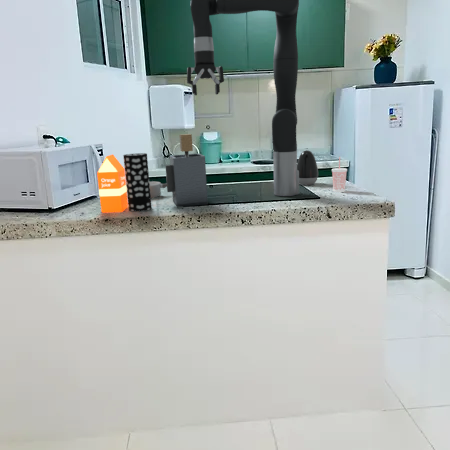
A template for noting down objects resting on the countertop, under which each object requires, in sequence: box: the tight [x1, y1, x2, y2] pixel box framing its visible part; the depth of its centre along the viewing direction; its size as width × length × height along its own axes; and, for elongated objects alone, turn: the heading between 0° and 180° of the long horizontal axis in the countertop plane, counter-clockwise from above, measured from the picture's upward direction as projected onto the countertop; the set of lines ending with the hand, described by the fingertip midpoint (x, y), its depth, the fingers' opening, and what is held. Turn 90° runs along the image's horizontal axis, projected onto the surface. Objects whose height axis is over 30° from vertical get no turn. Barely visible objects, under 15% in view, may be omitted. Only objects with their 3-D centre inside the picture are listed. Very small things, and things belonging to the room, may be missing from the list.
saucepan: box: [149, 181, 167, 199], centre depth 188 cm, size 12×20×6 cm, turn 98°
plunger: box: [178, 133, 194, 157], centre depth 167 cm, size 9×9×25 cm
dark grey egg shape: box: [297, 150, 319, 186], centre depth 198 cm, size 10×10×15 cm
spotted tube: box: [122, 152, 152, 212], centre depth 161 cm, size 8×8×20 cm
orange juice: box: [96, 154, 129, 214], centre depth 162 cm, size 8×9×20 cm
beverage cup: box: [331, 156, 348, 193], centre depth 179 cm, size 6×6×14 cm
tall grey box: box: [164, 153, 208, 208], centre depth 168 cm, size 14×12×18 cm
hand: (206, 94), depth 174 cm, fingers open, 8 cm apart
